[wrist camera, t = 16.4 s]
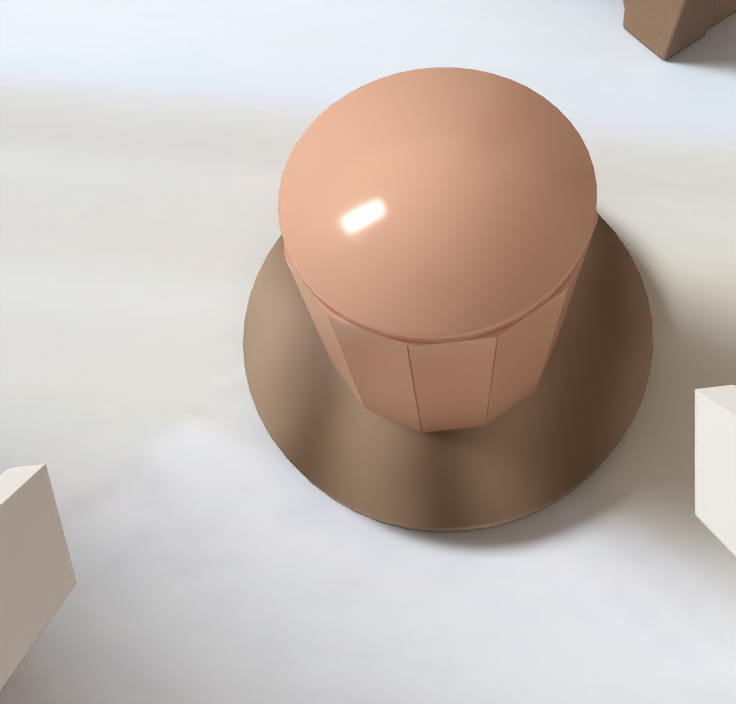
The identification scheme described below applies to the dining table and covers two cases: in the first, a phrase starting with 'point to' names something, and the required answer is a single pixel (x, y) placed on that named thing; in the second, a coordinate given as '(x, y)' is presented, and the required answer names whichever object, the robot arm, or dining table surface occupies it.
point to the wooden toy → (673, 22)
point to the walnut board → (466, 445)
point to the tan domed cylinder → (438, 240)
